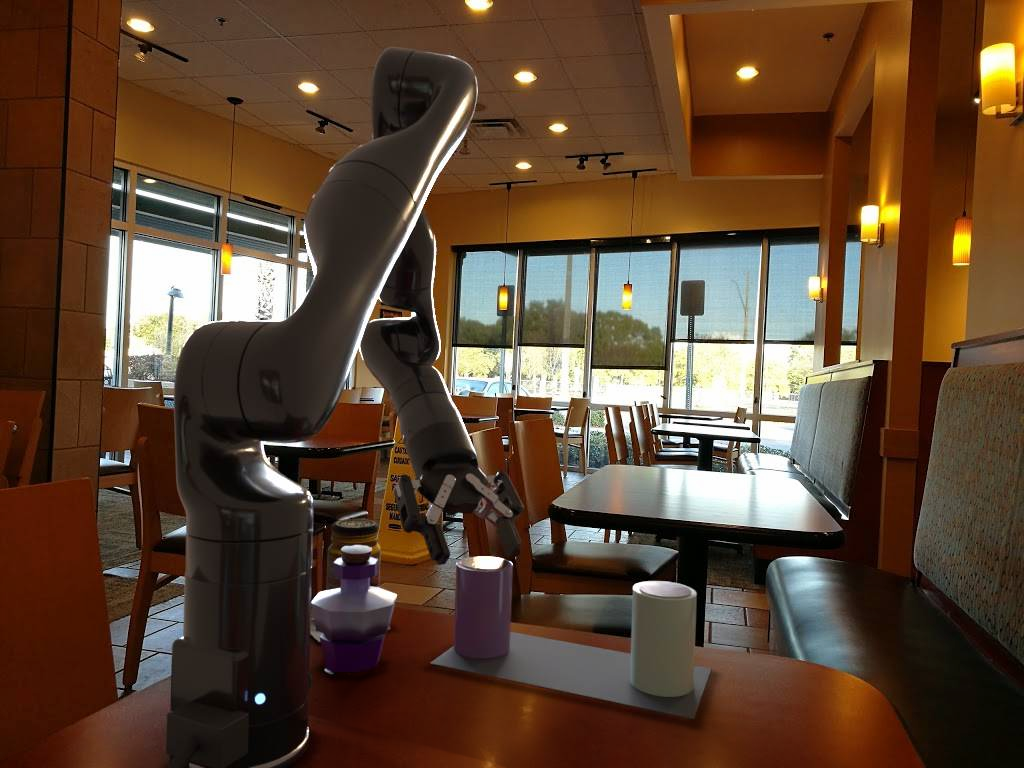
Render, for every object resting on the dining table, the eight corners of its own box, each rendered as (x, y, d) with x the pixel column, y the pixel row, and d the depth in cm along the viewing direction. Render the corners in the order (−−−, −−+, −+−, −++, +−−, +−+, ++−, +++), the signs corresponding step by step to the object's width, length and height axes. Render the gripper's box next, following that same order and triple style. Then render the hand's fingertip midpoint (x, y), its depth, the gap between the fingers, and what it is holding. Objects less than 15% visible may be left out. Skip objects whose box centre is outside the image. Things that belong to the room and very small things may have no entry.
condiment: (391, 630, 83) (394, 525, 83) (318, 643, 79) (321, 532, 78) (366, 611, 89) (369, 514, 89) (298, 622, 85) (301, 520, 84)
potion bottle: (341, 645, 78) (345, 534, 78) (412, 659, 75) (415, 543, 75) (289, 675, 70) (292, 551, 70) (365, 692, 67) (369, 562, 67)
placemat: (693, 725, 63) (693, 718, 63) (429, 669, 73) (429, 663, 73) (711, 674, 74) (712, 668, 74) (480, 631, 84) (480, 625, 84)
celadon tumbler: (687, 702, 66) (691, 602, 66) (622, 689, 68) (626, 592, 68) (697, 677, 71) (701, 585, 71) (637, 666, 74) (640, 576, 74)
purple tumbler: (496, 663, 73) (498, 573, 73) (443, 652, 76) (446, 565, 76) (518, 643, 79) (521, 559, 79) (468, 633, 81) (471, 552, 81)
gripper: (390, 419, 81) (431, 543, 72) (499, 418, 89) (550, 531, 79) (371, 461, 86) (408, 583, 76) (476, 457, 93) (521, 568, 84)
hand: (480, 556), depth 78 cm, fingers open, 8 cm apart
